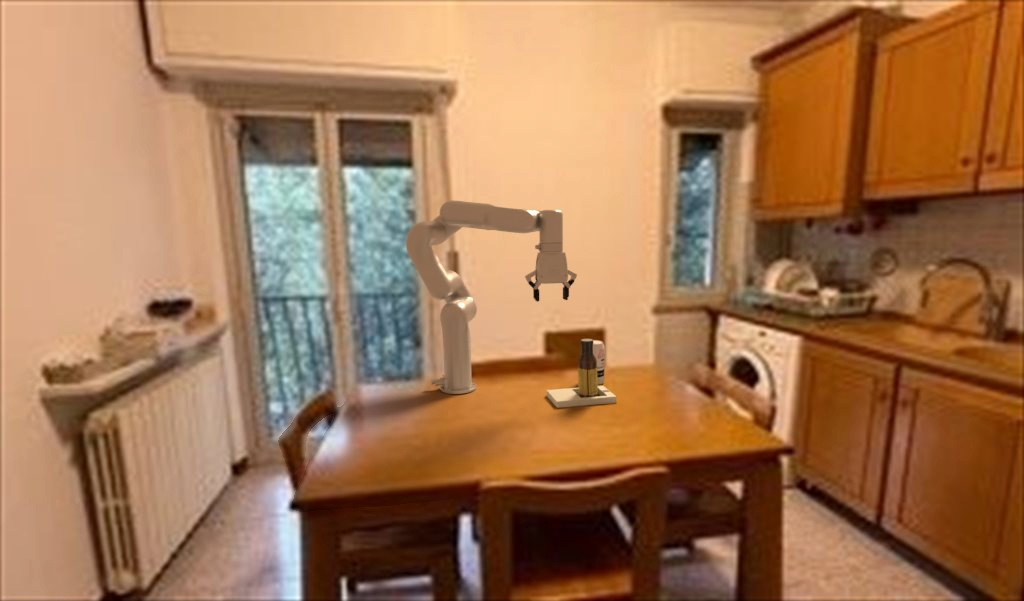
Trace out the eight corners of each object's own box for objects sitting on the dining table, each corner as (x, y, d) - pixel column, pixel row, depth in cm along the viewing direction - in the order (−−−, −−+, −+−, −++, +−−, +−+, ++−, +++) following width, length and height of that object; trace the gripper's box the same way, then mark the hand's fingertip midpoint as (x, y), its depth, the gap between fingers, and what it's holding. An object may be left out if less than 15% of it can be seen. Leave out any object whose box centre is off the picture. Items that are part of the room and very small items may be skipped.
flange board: (556, 407, 178) (556, 401, 178) (546, 395, 190) (546, 389, 189) (616, 402, 182) (616, 396, 182) (602, 391, 194) (602, 385, 193)
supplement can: (581, 379, 208) (581, 339, 206) (603, 379, 207) (604, 339, 204) (580, 385, 200) (581, 344, 198) (604, 386, 199) (605, 345, 196)
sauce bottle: (597, 395, 189) (598, 337, 186) (597, 402, 183) (597, 342, 180) (578, 395, 190) (578, 337, 187) (577, 401, 184) (577, 341, 181)
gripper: (528, 249, 178) (528, 303, 180) (580, 248, 181) (579, 300, 184) (522, 248, 185) (523, 299, 188) (572, 246, 189) (572, 297, 191)
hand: (551, 300), depth 186 cm, fingers open, 9 cm apart
